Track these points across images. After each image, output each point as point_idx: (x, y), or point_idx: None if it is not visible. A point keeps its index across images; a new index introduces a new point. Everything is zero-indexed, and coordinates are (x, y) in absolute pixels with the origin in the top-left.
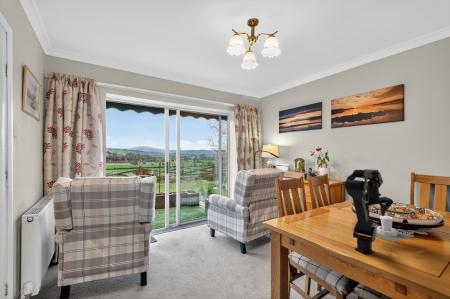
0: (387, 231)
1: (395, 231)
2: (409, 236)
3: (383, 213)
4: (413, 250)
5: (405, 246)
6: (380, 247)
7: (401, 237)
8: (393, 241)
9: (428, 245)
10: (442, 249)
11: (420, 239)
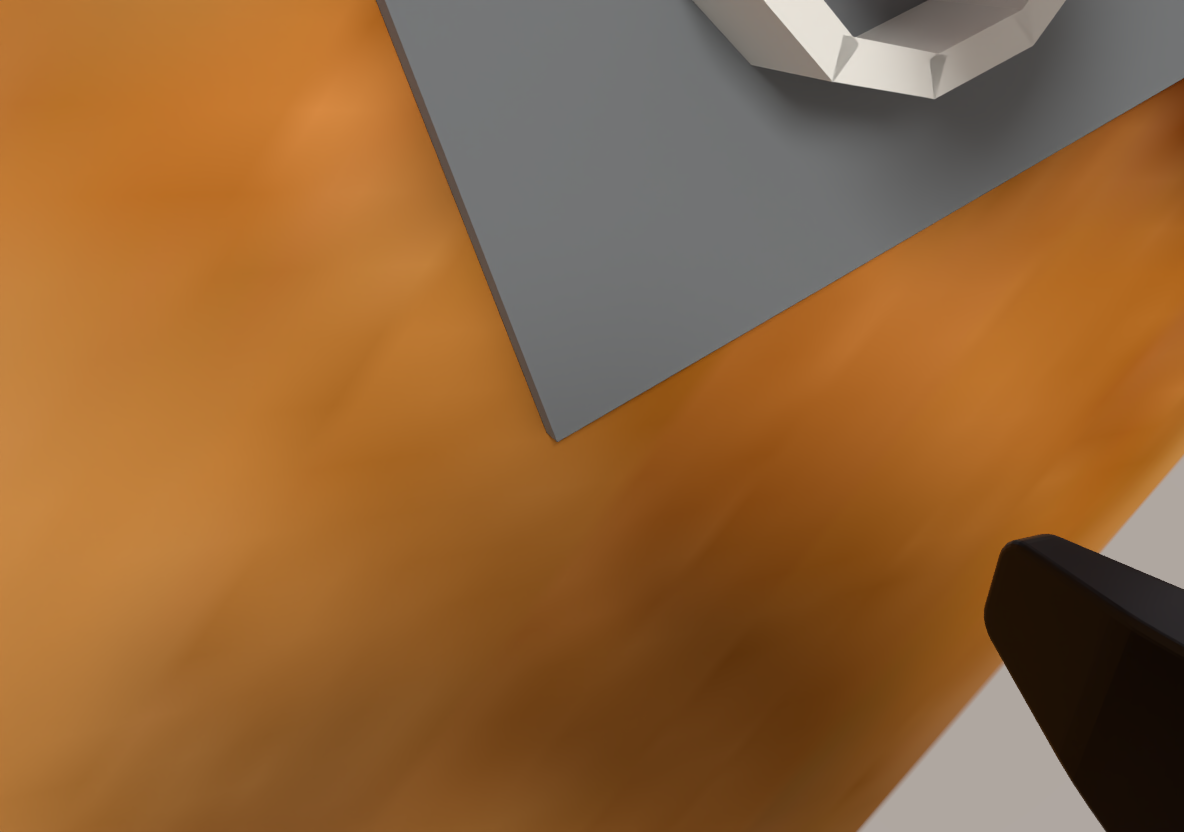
0: (817, 22)
1: (1001, 35)
2: (1113, 85)
3: (1122, 823)
4: (643, 725)
5: (651, 576)
6: (30, 761)
7: (934, 144)
8: (586, 409)
9: (1026, 462)
10: None
11: (1155, 195)
